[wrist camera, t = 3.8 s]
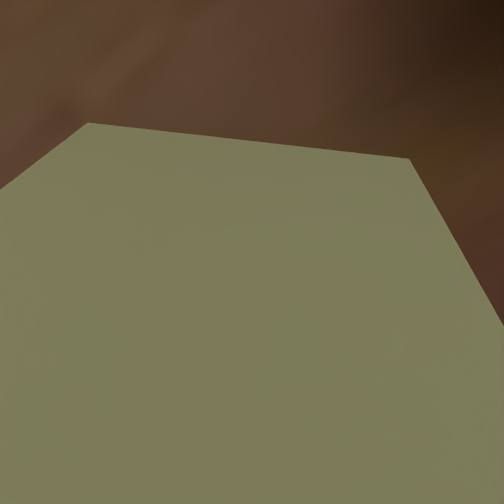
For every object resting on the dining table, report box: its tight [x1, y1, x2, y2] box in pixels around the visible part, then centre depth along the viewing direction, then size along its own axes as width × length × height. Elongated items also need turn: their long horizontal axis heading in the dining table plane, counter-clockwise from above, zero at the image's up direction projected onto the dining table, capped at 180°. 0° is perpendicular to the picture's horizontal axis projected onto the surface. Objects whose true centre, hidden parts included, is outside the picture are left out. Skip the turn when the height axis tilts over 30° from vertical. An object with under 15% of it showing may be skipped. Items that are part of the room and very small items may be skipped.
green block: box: [0, 123, 504, 504], centre depth 7 cm, size 5×9×6 cm, turn 175°
